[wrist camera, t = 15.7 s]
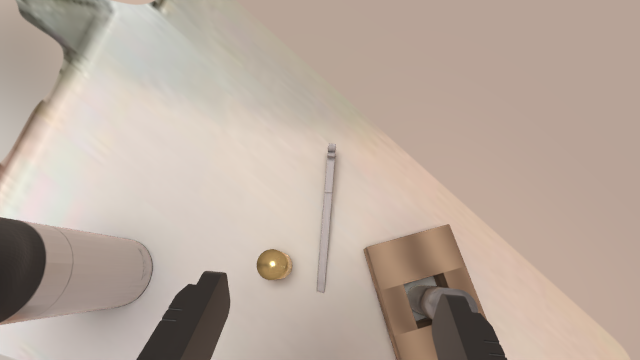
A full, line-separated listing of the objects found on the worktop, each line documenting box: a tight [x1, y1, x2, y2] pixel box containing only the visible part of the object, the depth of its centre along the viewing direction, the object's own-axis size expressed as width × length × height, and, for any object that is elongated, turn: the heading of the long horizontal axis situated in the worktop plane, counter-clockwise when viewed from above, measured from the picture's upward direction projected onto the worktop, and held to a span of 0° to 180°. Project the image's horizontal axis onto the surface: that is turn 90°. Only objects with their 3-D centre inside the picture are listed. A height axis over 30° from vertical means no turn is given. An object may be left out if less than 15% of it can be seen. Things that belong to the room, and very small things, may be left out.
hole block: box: [364, 224, 487, 360], centre depth 40 cm, size 11×16×4 cm
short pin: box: [257, 249, 292, 280], centre depth 41 cm, size 4×4×6 cm
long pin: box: [407, 285, 478, 319], centre depth 36 cm, size 4×4×13 cm
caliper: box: [317, 144, 336, 292], centre depth 43 cm, size 20×1×6 cm, turn 175°
